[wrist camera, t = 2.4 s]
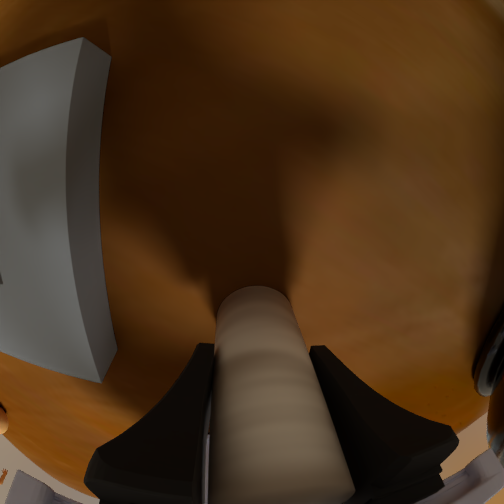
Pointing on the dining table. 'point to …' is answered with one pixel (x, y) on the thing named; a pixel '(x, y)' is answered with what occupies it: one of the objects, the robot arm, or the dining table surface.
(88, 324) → the socket block
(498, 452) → the amphora vase
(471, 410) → the dining table surface
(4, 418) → the figurine
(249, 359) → the birch dowel
